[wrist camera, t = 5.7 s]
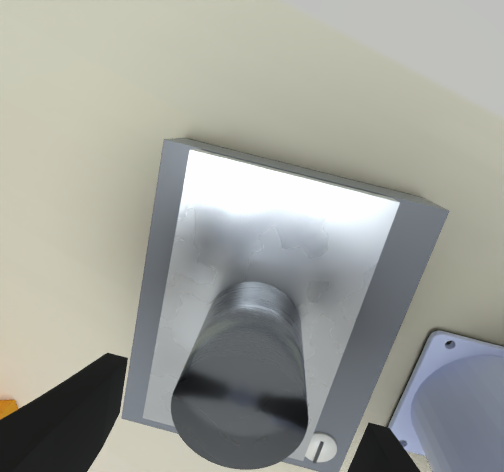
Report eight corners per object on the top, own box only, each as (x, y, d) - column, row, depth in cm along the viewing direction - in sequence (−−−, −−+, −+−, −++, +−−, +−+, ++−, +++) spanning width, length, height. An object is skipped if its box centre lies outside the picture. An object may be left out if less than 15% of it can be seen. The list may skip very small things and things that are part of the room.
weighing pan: (393, 198, 14) (400, 202, 13) (302, 445, 18) (303, 461, 17) (195, 148, 14) (189, 150, 13) (149, 404, 18) (142, 418, 17)
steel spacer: (312, 295, 14) (325, 377, 9) (287, 375, 15) (287, 483, 11) (217, 271, 14) (183, 339, 10) (199, 352, 16) (161, 449, 11)
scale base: (422, 197, 17) (452, 212, 14) (330, 430, 22) (337, 481, 18) (184, 137, 17) (161, 139, 14) (143, 380, 22) (118, 422, 19)
